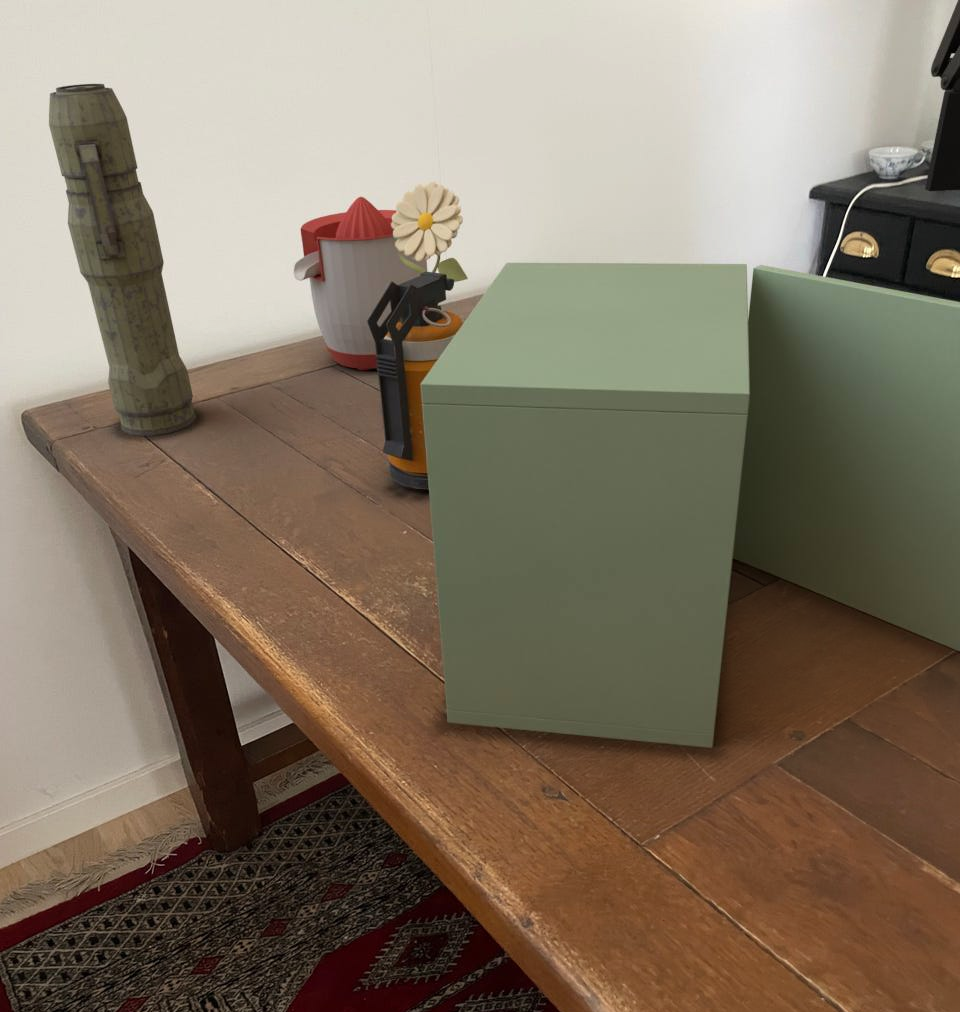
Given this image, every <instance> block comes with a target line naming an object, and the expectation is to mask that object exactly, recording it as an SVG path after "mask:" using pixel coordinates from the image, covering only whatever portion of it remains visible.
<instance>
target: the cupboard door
mask: <svg viewBox="0 0 960 1012" xmlns="http://www.w3.org/2000/svg"><path fill="white" fill-rule="evenodd" d="M749 298H750V299H749V307H748V338H749V379H750V398H749V407H748V417H747V426H746V436H745V445H744V455H743V464H742V473H741V483H740V492H739V502H738V511H737V521H736V530H735V540H734V549H733V559H734V560H735V561H738V562H740V563H744V564H745V565H748V566H750V567H753V568H755V569H758V570H760V571H763V572H765V573H767V574H770V575H773V576H775V577H778V578H780V579H783V580H784V581H787V582H790V583H792V584H794V585H797V586H799V587H801V588H804V589H807V590H809V591H811V592H814V593H816V594H819V595H821V596H824V597H826V598H828V599H831V600H833V601H835V602H838V603H841V604H842V605H845V606H848V607H851V608H853V609H855V610H857V611H860V612H863V613H865V614H867V615H869V616H873V617H875V618H877V619H880V620H882V621H884V622H886V623H889V624H892V625H894V626H896V627H899V628H901V629H903V630H906V631H909V632H911V633H913V634H916V635H918V636H920V637H923V638H925V639H927V640H930V641H933V642H936V643H937V644H940V645H942V646H945V647H947V648H950V649H953V650H954V651H957V652H960V301H956V300H951V299H945V298H941V297H934V296H929V295H924V294H918V293H913V292H908V291H903V290H898V289H892V288H886V287H882V286H876V285H870V284H865V283H860V282H854V281H849V280H843V279H838V278H833V277H828V276H824V275H823V276H822V275H819V274H818V275H817V274H812V273H806V272H801V271H796V270H791V269H784V268H780V267H774V266H769V265H764V264H760V265H757V266H754V267H753V269H752V280H751V288H750V297H749ZM733 559H732V560H733Z"/></svg>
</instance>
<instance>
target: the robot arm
mask: <svg viewBox="0 0 960 1012" xmlns="http://www.w3.org/2000/svg"><path fill="white" fill-rule="evenodd" d="M952 55H953V56H952ZM930 74H931V77H932V78H940V88H941V90H942V91H944V92H943V95H942V96H943V97H942V101H941V107H940V112H939V117H938V122H937V127H936V131H935V137H934V142H933V146H932V152H931V157H930V161H929V167H928V172H927V176H926V181H925V187H924V190H925V191H928V192H941V191H942V192H943V191H960V0H957V1H956V4H955V7H954V9H953V12H952V14H951V17H950V18H949V21H948V24H947V26H946V29H945V32H944V34H943V36H942V38H941V41H940V43H939V46H938V48H937V50H936V54H935V56H934V59H933V61H932V64H931V67H930Z"/></svg>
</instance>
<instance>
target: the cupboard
mask: <svg viewBox="0 0 960 1012" xmlns="http://www.w3.org/2000/svg"><path fill="white" fill-rule="evenodd" d="M748 303H749V299H748V265H747V263H643V262H642V263H640V262H639V263H637V262H635V263H633V262H632V263H629V262H628V263H626V262H623V263H621V262H618V263H617V262H613V263H612V262H592V263H591V262H506V263H505V264H504V266H503V267H502V268H501V270H500V271H499V273H498V274H497V275H496V277H495V279H493V281H492V282H491V284H490V285H489V287H488V288H487V290H486V291H485V292H484V294H483V295H482V296H481V298H480V299H479V301H478V302H477V304H476V305H475V307H473V309H472V310H471V312H470V314H469V315H468V316H467V317H466V319H465V321H464V322H462V323H463V325H462V326H461V328H460V329H459V330H458V332H457V333H456V335H455V336H454V338H453V339H452V340H451V342H450V343H449V345H448V346H447V347H446V349H445V350H444V352H443V353H442V354H441V356H440V357H439V359H438V360H437V361H436V363H435V364H434V366H433V367H432V369H431V370H430V371H429V373H428V374H427V376H426V377H425V378H424V380H423V381H422V383H421V396H422V403H423V404H422V409H423V422H424V434H425V447H426V459H427V471H428V484H429V490H428V494H429V509H430V517H431V518H430V520H431V531H432V544H433V554H434V555H433V556H434V569H435V582H436V594H437V607H438V617H439V631H440V642H441V643H440V645H441V654H442V667H443V669H442V670H443V680H444V693H445V705H446V715H447V716H446V718H447V719H446V720H447V723H449V724H458V725H469V726H480V727H491V728H502V729H510V730H521V731H531V732H532V731H533V732H543V733H552V734H562V735H563V734H564V735H575V736H585V737H596V738H606V739H617V740H626V741H637V742H648V743H657V744H658V743H659V744H669V745H680V746H688V747H689V746H690V747H700V748H709V749H711V748H713V747H714V739H715V738H714V737H715V728H716V718H717V708H718V699H719V689H720V680H721V672H722V671H721V670H722V661H723V653H724V652H723V651H724V641H725V633H726V624H727V616H728V615H727V613H728V606H729V605H728V604H729V596H730V586H731V576H732V568H733V549H734V540H735V530H736V521H737V511H738V502H739V492H740V483H741V473H742V464H743V455H744V445H745V436H746V426H747V417H748V407H749V398H750V379H749V338H748V318H749V304H748Z"/></svg>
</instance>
